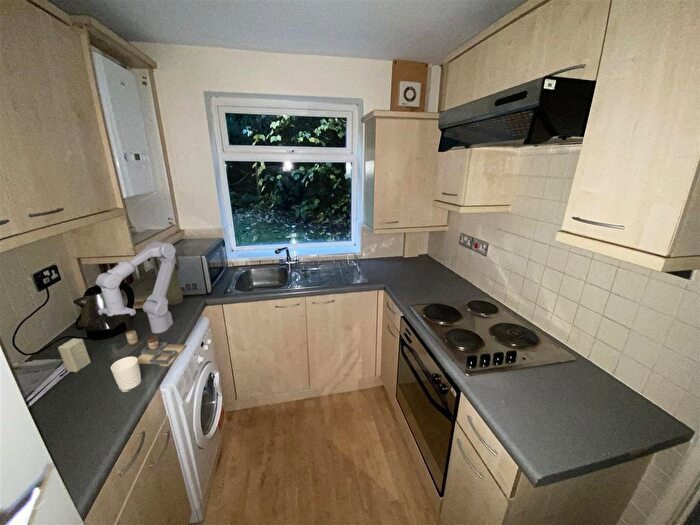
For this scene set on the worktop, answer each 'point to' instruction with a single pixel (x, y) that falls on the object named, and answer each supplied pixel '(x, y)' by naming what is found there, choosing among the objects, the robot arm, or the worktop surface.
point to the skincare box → (74, 354)
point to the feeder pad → (126, 350)
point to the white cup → (126, 373)
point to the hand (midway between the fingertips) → (122, 328)
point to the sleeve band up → (153, 343)
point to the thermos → (172, 284)
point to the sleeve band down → (132, 338)
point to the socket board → (161, 354)
